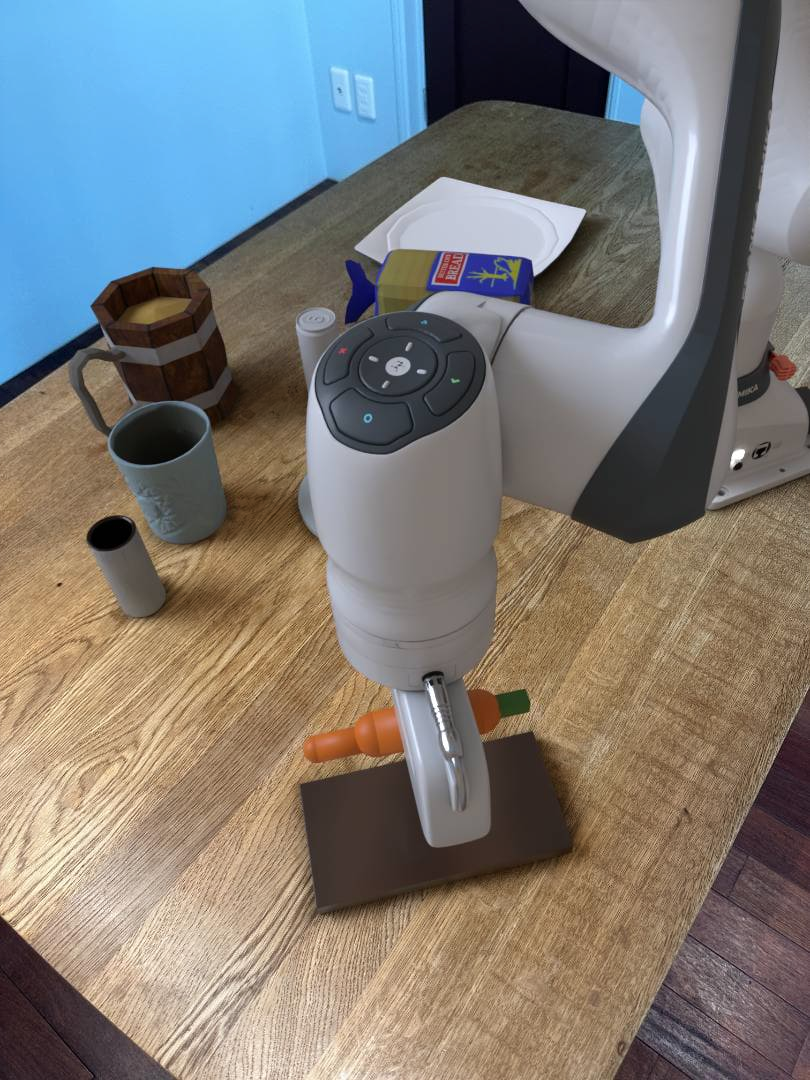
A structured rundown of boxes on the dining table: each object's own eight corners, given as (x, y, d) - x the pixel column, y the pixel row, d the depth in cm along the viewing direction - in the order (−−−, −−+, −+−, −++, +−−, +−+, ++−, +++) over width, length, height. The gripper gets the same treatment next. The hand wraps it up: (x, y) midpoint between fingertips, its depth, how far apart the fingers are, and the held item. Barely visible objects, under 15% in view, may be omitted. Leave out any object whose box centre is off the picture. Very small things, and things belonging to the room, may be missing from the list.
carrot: (519, 693, 57) (522, 670, 54) (533, 731, 55) (536, 709, 52) (302, 740, 55) (296, 718, 53) (308, 781, 53) (302, 760, 51)
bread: (527, 365, 104) (532, 294, 96) (341, 347, 109) (332, 278, 101) (536, 320, 110) (542, 250, 103) (361, 305, 115) (354, 237, 107)
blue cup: (145, 558, 86) (108, 476, 77) (140, 493, 92) (105, 411, 83) (240, 535, 87) (215, 453, 78) (228, 473, 94) (204, 390, 85)
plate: (596, 224, 126) (599, 208, 124) (511, 317, 111) (512, 300, 109) (439, 187, 137) (439, 171, 135) (342, 267, 122) (340, 250, 120)
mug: (185, 357, 109) (153, 254, 98) (260, 390, 104) (235, 285, 92) (70, 441, 99) (20, 337, 88) (146, 482, 93) (102, 377, 82)
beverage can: (342, 415, 99) (330, 332, 90) (305, 412, 100) (289, 329, 91) (352, 391, 102) (341, 308, 93) (315, 387, 103) (301, 305, 94)
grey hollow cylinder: (144, 625, 80) (110, 558, 72) (111, 606, 82) (75, 539, 74) (175, 593, 82) (146, 525, 75) (143, 576, 84) (111, 507, 76)
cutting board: (531, 739, 70) (532, 730, 69) (572, 852, 63) (574, 845, 62) (301, 791, 68) (299, 783, 67) (318, 914, 61) (316, 908, 60)
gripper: (529, 767, 38) (513, 872, 48) (428, 470, 51) (433, 602, 61) (395, 797, 37) (409, 897, 47) (329, 488, 50) (351, 619, 61)
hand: (422, 728), depth 54 cm, fingers closed on carrot, 3 cm apart
